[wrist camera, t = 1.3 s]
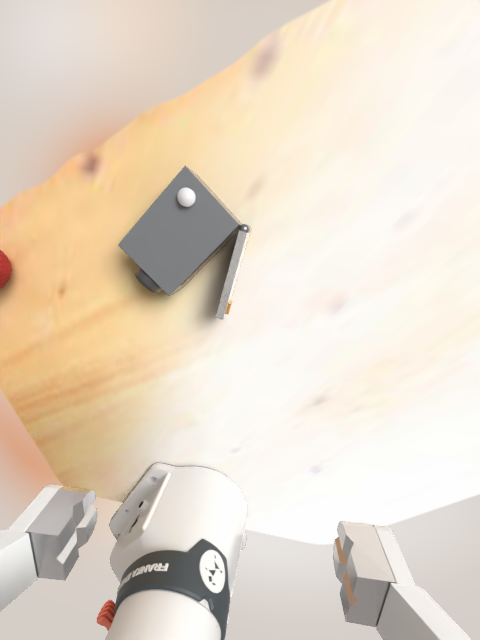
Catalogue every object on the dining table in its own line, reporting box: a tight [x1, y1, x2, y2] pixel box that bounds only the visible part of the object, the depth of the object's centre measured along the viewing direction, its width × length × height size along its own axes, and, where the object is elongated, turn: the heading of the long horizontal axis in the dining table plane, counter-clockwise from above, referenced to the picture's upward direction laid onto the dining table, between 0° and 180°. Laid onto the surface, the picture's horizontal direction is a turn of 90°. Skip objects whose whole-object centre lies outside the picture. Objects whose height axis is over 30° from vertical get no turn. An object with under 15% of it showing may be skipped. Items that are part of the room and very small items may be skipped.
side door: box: [216, 224, 251, 319], centre depth 31 cm, size 10×1×4 cm, turn 164°
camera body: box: [118, 166, 242, 296], centre depth 30 cm, size 12×7×5 cm, turn 134°
